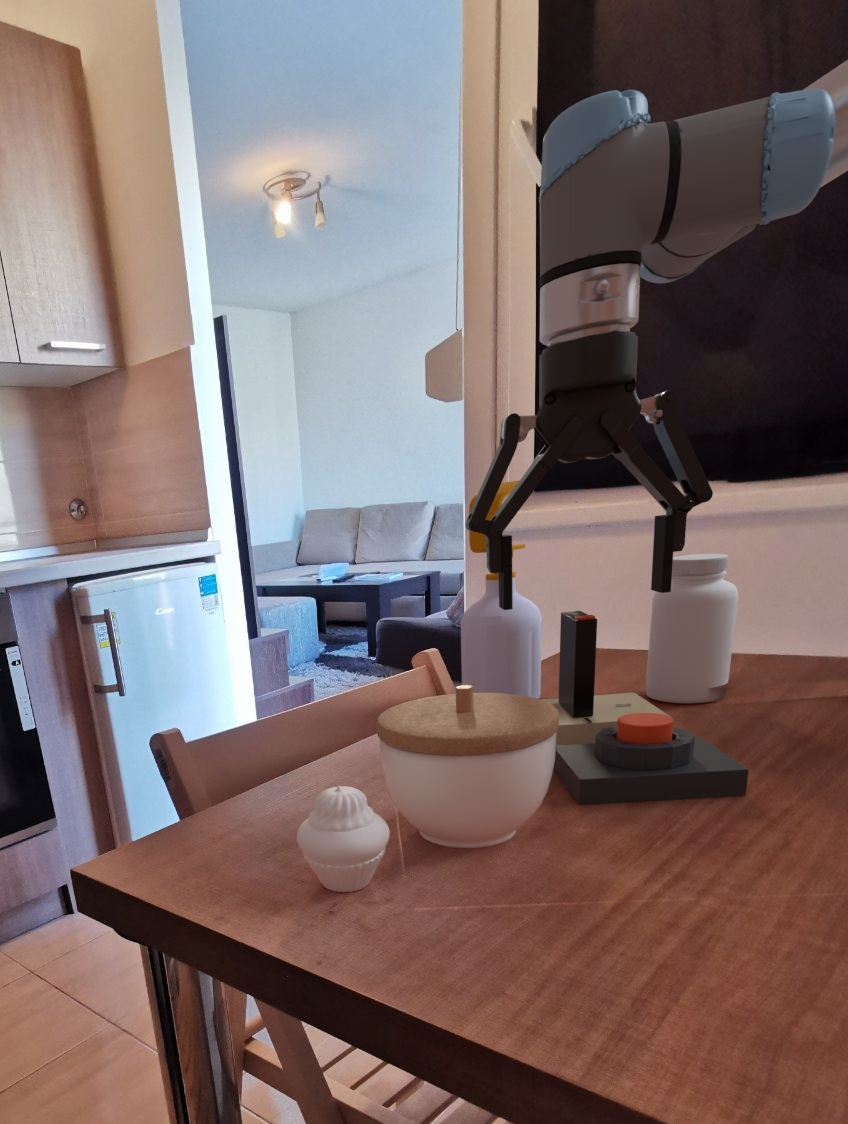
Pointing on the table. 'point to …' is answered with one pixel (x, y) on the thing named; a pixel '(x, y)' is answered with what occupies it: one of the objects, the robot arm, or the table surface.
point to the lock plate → (598, 717)
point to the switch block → (648, 770)
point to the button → (645, 728)
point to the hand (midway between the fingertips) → (581, 600)
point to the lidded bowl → (468, 763)
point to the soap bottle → (501, 631)
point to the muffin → (343, 839)
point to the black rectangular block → (577, 663)
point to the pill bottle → (692, 632)
